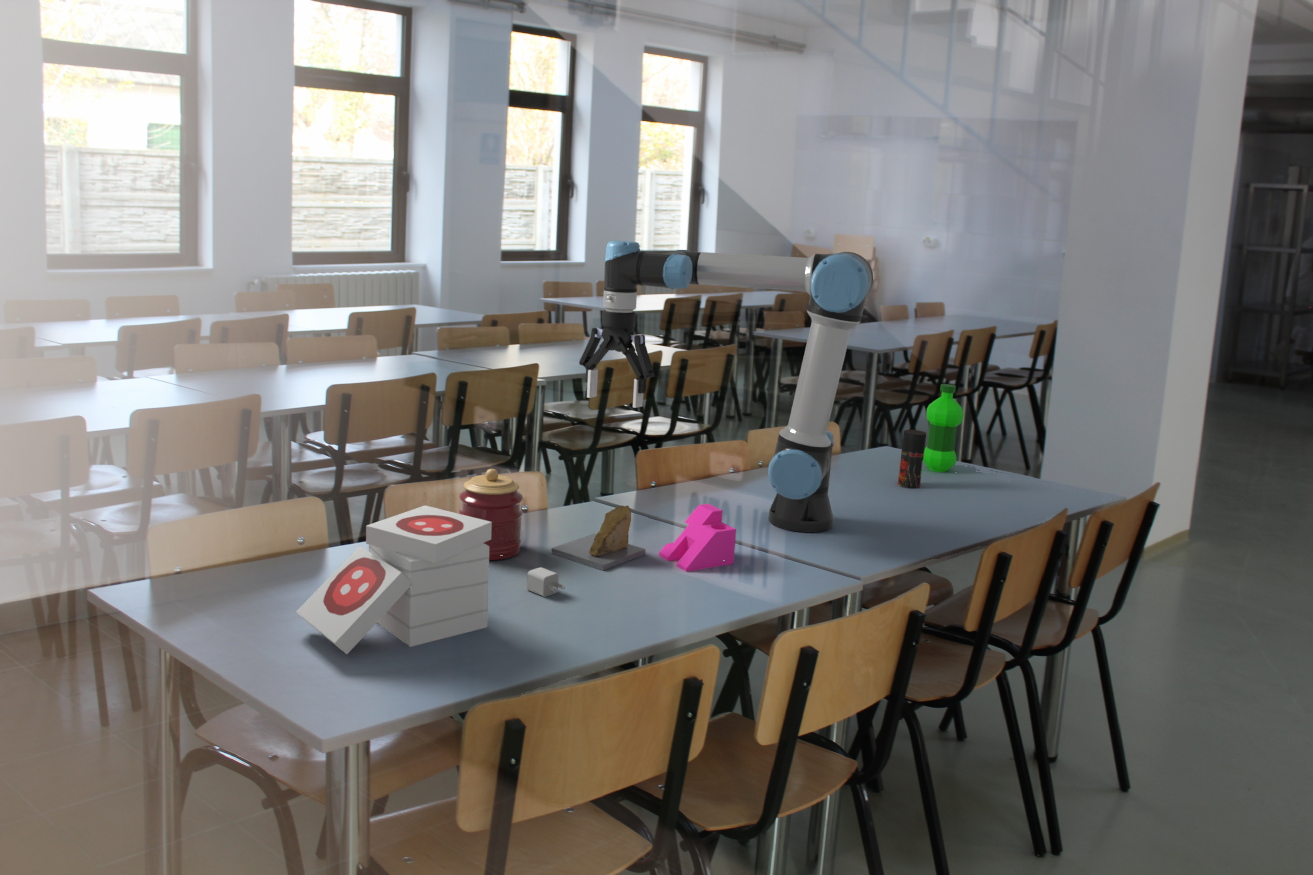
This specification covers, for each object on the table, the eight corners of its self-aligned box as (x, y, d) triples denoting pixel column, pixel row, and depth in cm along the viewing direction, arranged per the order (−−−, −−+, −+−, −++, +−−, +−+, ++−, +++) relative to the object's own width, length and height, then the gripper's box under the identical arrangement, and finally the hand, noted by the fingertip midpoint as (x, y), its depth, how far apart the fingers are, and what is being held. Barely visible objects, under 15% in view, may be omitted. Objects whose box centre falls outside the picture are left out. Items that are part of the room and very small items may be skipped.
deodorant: (921, 489, 295) (928, 435, 291) (900, 487, 295) (906, 434, 292) (917, 483, 301) (923, 430, 297) (895, 481, 301) (901, 429, 297)
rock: (596, 551, 219) (641, 541, 223) (584, 512, 222) (629, 502, 225) (584, 567, 228) (627, 556, 232) (572, 529, 231) (616, 519, 235)
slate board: (645, 554, 230) (645, 549, 230) (603, 570, 219) (603, 564, 219) (594, 538, 238) (594, 533, 238) (551, 553, 227) (551, 547, 227)
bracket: (705, 548, 236) (708, 503, 234) (733, 564, 228) (737, 517, 225) (658, 556, 230) (661, 509, 227) (686, 572, 221) (689, 524, 219)
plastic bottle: (921, 472, 313) (931, 387, 307) (919, 463, 323) (929, 380, 317) (957, 475, 311) (968, 390, 306) (953, 466, 321) (964, 383, 316)
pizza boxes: (291, 629, 183) (289, 527, 179) (448, 594, 202) (450, 501, 198) (341, 671, 169) (340, 561, 165) (505, 629, 188) (508, 530, 184)
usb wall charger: (541, 586, 209) (542, 566, 208) (567, 596, 205) (568, 576, 204) (526, 591, 206) (527, 571, 205) (552, 601, 202) (553, 581, 201)
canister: (445, 548, 226) (446, 466, 222) (494, 536, 235) (496, 457, 231) (484, 565, 217) (486, 481, 213) (533, 552, 227) (537, 471, 223)
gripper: (566, 304, 250) (563, 395, 255) (653, 317, 236) (647, 413, 241) (587, 302, 256) (583, 391, 261) (673, 315, 242) (667, 409, 247)
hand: (614, 402), depth 251 cm, fingers open, 13 cm apart
